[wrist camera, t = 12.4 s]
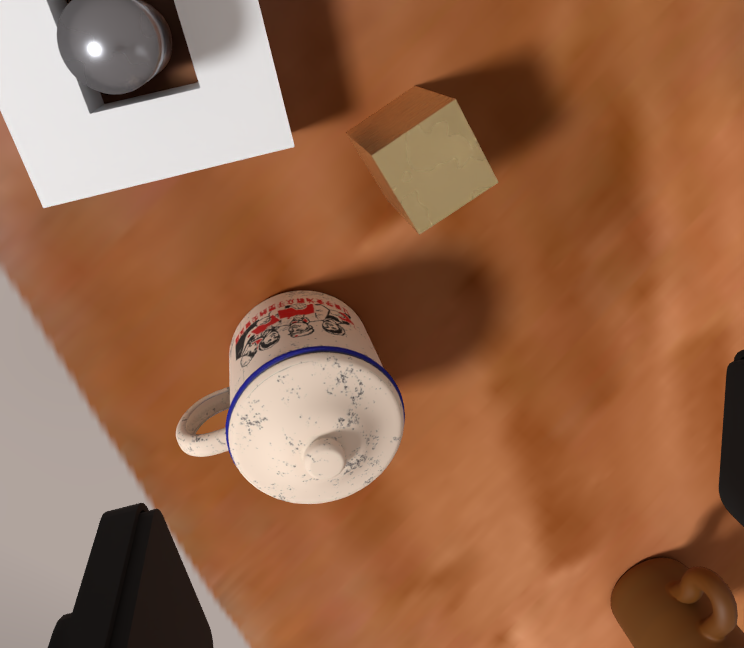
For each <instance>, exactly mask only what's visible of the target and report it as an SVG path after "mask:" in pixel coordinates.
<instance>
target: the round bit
mask: <svg viewBox="0 0 744 648" xmlns="http://www.w3.org/2000/svg"><path fill="white" fill-rule="evenodd" d="M57 43H58V48H59V52H60V55H61V57H62V59H63V61H64V63H65V65H66V66H67V68H68V69H69V71H70V72H71V73H72V74H73V75H74V76H75V77H76V78H77V79H78V80H79V81H80V82H81V83H83V84H84V85H86V86H87V87H89V88H91V89H93V90H96V91H98V92H102V93H106V94H124V93H128V92H132V91H134V90H136V89H138V88H139V87H141V86H142V85H144V84H145V83H146V82H148V81H149V80H150V79H151V78H153V77H154V76H155V75H157V74H158V73H159V72H161V71H162V70H163V69H164V68H165V66H166V65H167V64H168V62H169V60H170V58H171V54H172V49H173V40H172V34H171V30H170V28H169V25H168V24H167V22H166V20H165V19H164V17H163V16H162V15H161V13H160V12H159V11H158V10H156V9H155V8H154V7H153V6H151V5H150V4H148V3H146V2H144V1H141V0H72V1H71V2H70V3H69V4H68V5H67V6H66V7H65V9H64V10H63V12H62V14H61V16H60V18H59V21H58V26H57Z"/></svg>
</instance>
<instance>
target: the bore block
mask: <svg viewBox="0 0 744 648" xmlns="http://www.w3.org/2000/svg"><path fill="white" fill-rule="evenodd" d="M174 2H175V6H176V9H177V12H178V16H179V19H180V22H181V26H182V29H183V32H184V36H185V39H186V42H187V46H188V49H189V52H190V55H191V59H192V62H193V65H194V69H195V72H196V75H197V79H198V82H197V83H193V84H189V85H184V86H180V87H176V88H171V89H167V90H163V91H158V92H154V93H150V94H146V95H141V96H137V97H133V98H128V99H124V100H120V101H115V102H111V103H107V104H104V102H103V99H102V96H101V94H100V92H98V91H96V90H93V89H91V88H89V87H87V86H86V85H84V84H83V83H81V82H80V81H79V80H78V79H77V78H76V77H75V76H74V75H73V74H72V73H71V72H70V71H69V69H68V68H67V66H66V65H65V63H64V61H63V59H62V57H61V55H60V52H59V48H58V43H57V26H58V21H59V18H60V16H61V14H62V12H63V10H64V9H65V7H66V6H67V5H68V4H67V2H66V0H0V110H1V113H2V115H3V117H4V120H5V122H6V124H7V126H8V129H9V131H10V133H11V135H12V138H13V140H14V142H15V145H16V147H17V149H18V151H19V154H20V156H21V158H22V160H23V163H24V165H25V167H26V170H27V172H28V174H29V176H30V179H31V181H32V183H33V185H34V188H35V190H36V192H37V195H38V197H39V199H40V201H41V204H42V206H43V208H46V207H50V206H54V205H58V204H62V203H67V202H71V201H75V200H79V199H83V198H87V197H91V196H95V195H99V194H103V193H107V192H111V191H116V190H120V189H124V188H128V187H132V186H136V185H140V184H144V183H148V182H152V181H156V180H161V179H165V178H169V177H173V176H177V175H181V174H185V173H189V172H193V171H197V170H201V169H206V168H210V167H214V166H218V165H222V164H226V163H230V162H234V161H238V160H242V159H246V158H250V157H255V156H259V155H263V154H267V153H271V152H275V151H279V150H283V149H287V148H291V147H295V146H294V142H293V138H292V134H291V130H290V126H289V122H288V118H287V114H286V110H285V106H284V102H283V98H282V94H281V90H280V86H279V82H278V78H277V74H276V70H275V66H274V62H273V58H272V54H271V50H270V46H269V42H268V38H267V34H266V30H265V26H264V22H263V18H262V14H261V10H260V6H259V2H258V0H174Z"/></svg>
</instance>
